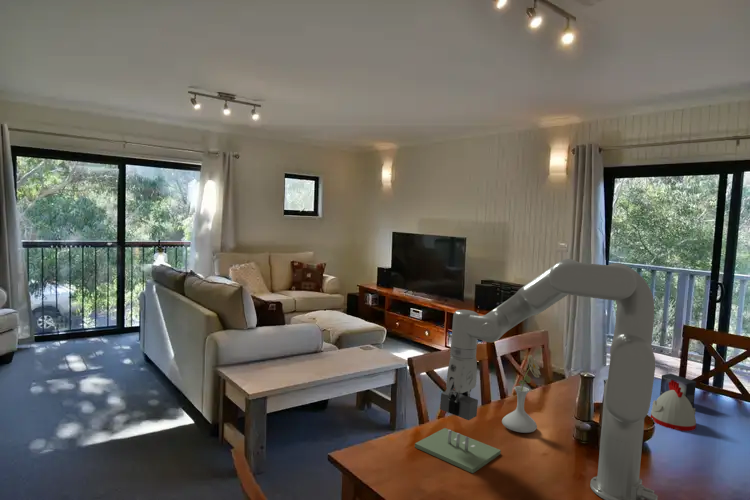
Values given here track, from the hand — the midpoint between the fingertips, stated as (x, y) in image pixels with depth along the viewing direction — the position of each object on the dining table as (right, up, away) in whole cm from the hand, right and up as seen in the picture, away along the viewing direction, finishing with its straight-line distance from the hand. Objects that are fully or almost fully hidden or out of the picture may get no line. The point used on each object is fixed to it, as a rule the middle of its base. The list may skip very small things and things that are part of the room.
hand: (458, 411), depth 141 cm
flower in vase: (+24, -12, +19) cm, 33 cm away
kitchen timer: (+83, -15, +30) cm, 90 cm away
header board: (0, -12, +1) cm, 12 cm away
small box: (+97, -14, +50) cm, 110 cm away
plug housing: (0, 0, 0) cm, 0 cm away
